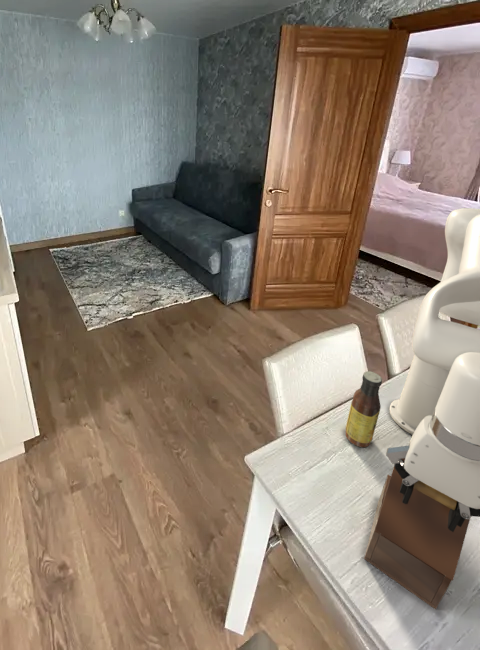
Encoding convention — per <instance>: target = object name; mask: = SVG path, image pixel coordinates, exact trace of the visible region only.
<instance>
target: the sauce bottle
mask: <svg viewBox="0 0 480 650" xmlns="http://www.w3.org/2000/svg"><path fill="white" fill-rule="evenodd" d="M361 379H362V382H361V385H360V387H359V388H358V389H356V390H355V391H354V393H353V397H352V400H351V403H350V407H349V410H348V415H347V420H346V425H345V431H344V432H345V437H346V439H347V440H348V441H349V443H351V444H352V445H354V446H356V447H359V448H367V447H369V446H370V445H371V442H372V440H373V437H374V434H375V430H376V427H377V423H378V420H379V417H380V416H379V415H380V412H381V409H382V406H381V400H380V396H379V394H380V393H379V391H380V389H381V388H380V387H381V386H382V384H383V378H382V376H380V374H378V373H376V372H374V371H370V370H369V371H365V372H363V375H362V378H361Z"/></svg>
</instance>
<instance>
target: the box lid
mask: <svg viewBox="0 0 480 650" xmlns="http://www.w3.org/2000/svg"><path fill="white" fill-rule="evenodd" d="M402 460H403V461H405V458H403V459H402ZM390 476H391V477H390V481H389V484H388V487H387V491H386V494H385V497H384V501H383V504H382V507H381V510H380V514H379V517H378V520H377V524H376V527H375V530H376V531H377V532H379V533H380V534H382V535H384V536H385V537H387V538H388V539H390V540H391V541H393V542H394V543H396V544H397V545H399V546H400V547H402V548H403V549H405V550H407V551H408V552H410V553H411V554H413V555H414V556H416V557H417V558H419V559H420V560H422V561H423V562H425V563H426V564H428V565H430V566H431V567H433V568H434V569H436V570H437V571H439V572H440V573H442V574H443V575H445V576H446V577H448V578H450V579H451V580H452V581H454V578H455V574H456V571H457V568H458V564H459V561H460V556H461V553H462V550H463V546H464V543H465V538H466V535H467V531H468V528H469V524H470V521H471V518H470V519H465V521H464V522H463V524H462V526H461V527H459V526H458V525H457V526H456V528H455V530H454V532H452V531H450V530H449V529H448V515H449V511H450V509H452V510H455V508H456V504H457V501H456V500H454V499H453V498H451V497H449V496H447V495H445V494H443V493H441V492H440V491H438V490H436V489H434V488H432V487H430V486H428V485H427V484H425V483H423V482H421V481H417V482H416V483H414V488H413V492H412V494H411V497H410V499H409V502H408V504H404V503H402V500H403V494H402V493H400V487H401V484H402V478H401V476H400V475H399V473H398V472H397V471H396V469H395V466H394V465H393V467H392V472H391V474H390Z"/></svg>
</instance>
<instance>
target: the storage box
mask: <svg viewBox="0 0 480 650" xmlns="http://www.w3.org/2000/svg"><path fill="white" fill-rule="evenodd" d="M390 477H391V474H387V476H386V479H385V481H384V485H383V487H382V490H381V493H380V496H379V498H378V501H377V505H376V509H375V513H374V517H373V520H372V526H371V529H370V534H369V536H368V541H367V545H366V548H365V549H366V550H365V553H364V557H363V559H364V560H365V561H366V562H368V564H371V565H372V566H373V567H374V568H376V569H377V570H378V571H380V572H381V573H383V574H384V575H386V576H387V577H389V578H390V579H392V580H393V581H394V582H396V583H397V584H398V585H400V586H401V587H402V588H404V589H405V590H407V591H409V592H410V593H411V594H412V595H414V596H416V597H417V598H419V599H420V600H421V601H423V602H424V603H425V604H427V605H428V606H429V607H431V608H433V609H434V610H437V608H438V606H439V605H440V603H441V601H442V600H443V597H444V596H445V594H446V592H447V590H448V589H449V587H450V585H451V583H452V581H453V580H451V579H450V578H448V577H446V576H445V575H443V574H442V573H440V572H439V571H437V570H436V569H434V568H433V567H431V566H430V565H428V564H426V563H425V562H423V561H422V560H420V559H419V558H417V557H416V556H414V555H413V554H411V553H410V552H408V551H407V550H405V549H403V548H402V547H400V546H399V545H397V544H396V543H394V542H393V541H391V540H390V539H388V538H387V537H385V536H384V535H382V534H380V533H379V532H377V531H376V530H375V527H376V524H377V520H378V517H379V514H380V510H381V507H382V504H383V501H384V497H385V494H386V491H387V487H388V484H389V481H390Z"/></svg>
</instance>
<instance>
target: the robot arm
mask: <svg viewBox="0 0 480 650" xmlns="http://www.w3.org/2000/svg"><path fill="white" fill-rule="evenodd" d="M444 237H445V243H446V244H445V245H446V250H447V260H446V264H445V267H444V270H443V273H442V276H441V280H440V282H438V283H437V284H436V285H435V286H433V287H432V288H431V289H430V290H429V291H428V292H427V293H426V295H425V296H424V298H423V299H422V300H421V302H420V305H419V308H418V311H417V316H416V318H415V319H416V320H415V322H414V327H413V332H412V336H411V349H412V352H413V353H414V354H413V357H412V360H411V363H410V367H409V369H408V373H407V376H406V378H405V381H404V384H403V387H402V388H403V389H402V390H401V393H400V397H399V398H397V399H394V400H393V401H392V402H391V403H390V405H389V408H388V409H389V415H390V417H391V418H392V419H393V421H394V422H395V423H396V424H397V426H399V427H400V428H401V429H403V430H404V431H405V432H407V433H409V434H411V435H412V436H411V437H410V439H409V442H408V444H407V445H402V446H401V445H400V446H394V447H388V448H387V449H386V453H385V456H386V458H387V459H388V460H389V461H390V463H391V464H392V465H393V467H394V466H395V469H396V471H397V472H398V473H399V475H400V476H401V478H402V484H401V487H400V493H402V494H403V500H402V503H404V504H408V502H409V499H410V497H411V494H412V492H413V488H414V483H416V482H417V481H421V482H423V483H425V484H427V485H428V486H430V487H432V488H434V489H436V490H438V491H440V492H441V493H443V494H445V495H447V496H449V497H451V498H453V499H454V500H456V501H457V504H456V508H455V510H452V509H450V511H449V515H448V529H449V530H450V531H452V532H454V530H455V528H456V526H457V525H458V526H459V527H461V526H462V524H463V522H464V521H465V519H470V520H471V517H473V518H474V517H477V518H480V328H479V329H478V328H475V327H471V326H469V325H466V324H462V323H458V322H455V321H451V320H448V319H443V318H440V316H439V313H440V314H442V315H444V316H446V317H449V318H452V319H456V320H458V321H461V322H465V323H469V324H472V325H476V326H478V327H479V326H480V208H475V207H473V208H471V207H470V208H469V207H465V208H462V207H461V208H457V209H454V210H452V211H451V212H450V213H449V214H448V216H447V218H446V220H445V226H444ZM403 458H405V461H403V460H402V459H403Z"/></svg>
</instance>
